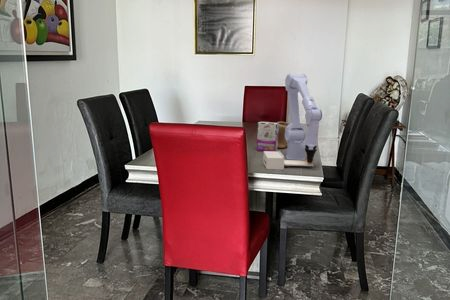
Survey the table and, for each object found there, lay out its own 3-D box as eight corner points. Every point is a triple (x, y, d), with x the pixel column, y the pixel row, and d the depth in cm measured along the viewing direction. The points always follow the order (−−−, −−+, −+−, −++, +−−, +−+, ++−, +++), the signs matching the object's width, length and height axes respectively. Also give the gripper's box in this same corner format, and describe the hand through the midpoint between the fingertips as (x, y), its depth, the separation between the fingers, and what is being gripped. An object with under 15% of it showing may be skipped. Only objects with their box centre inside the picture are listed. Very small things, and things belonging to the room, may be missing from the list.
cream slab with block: (309, 161, 200) (310, 152, 199) (313, 166, 192) (314, 155, 191) (281, 161, 199) (282, 151, 198) (284, 165, 192) (285, 155, 190)
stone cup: (288, 150, 231) (290, 124, 228) (268, 148, 235) (269, 122, 231) (291, 145, 245) (293, 121, 242) (272, 143, 249) (274, 119, 245)
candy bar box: (277, 151, 227) (279, 122, 224) (275, 153, 223) (277, 123, 219) (258, 149, 231) (260, 121, 227) (256, 150, 226) (257, 122, 223)
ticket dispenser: (279, 162, 203) (279, 150, 201) (284, 169, 189) (284, 157, 188) (262, 161, 202) (263, 150, 201) (266, 169, 189) (267, 156, 187)
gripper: (303, 130, 200) (301, 157, 203) (303, 135, 187) (301, 163, 190) (318, 131, 199) (315, 158, 202) (318, 137, 185) (316, 165, 188)
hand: (309, 161), depth 196 cm, fingers closed on cream slab with block, 5 cm apart
